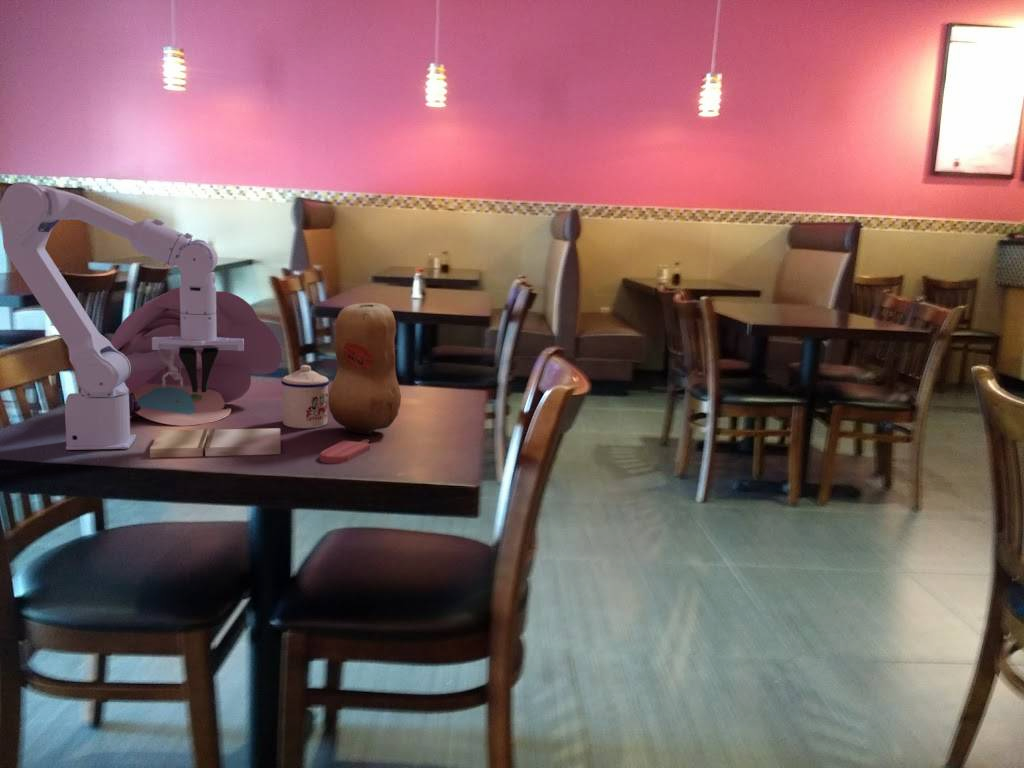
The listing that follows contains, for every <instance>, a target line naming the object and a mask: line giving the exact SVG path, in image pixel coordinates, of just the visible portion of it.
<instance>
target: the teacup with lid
mask: <svg viewBox="0 0 1024 768" xmlns="http://www.w3.org/2000/svg"><path fill="white" fill-rule="evenodd" d="M299 368H300V369H299V370H296V371H294V372H292V373H291V374H289V375H285V376H284V377H282V378H281V385H282V424H283V425H284V426H286V427H289V428H294V429H316V428H320V427H324V426H326V425H327V423H328V410H329V384H330V381H329V378H328V377H327V376H324V375H321V374H319V373H318V372H316V371H314V370H312V367H311V366H310V365H309V364H308V365H307V364H304V365H301V366H299Z"/></svg>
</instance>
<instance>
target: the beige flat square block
mask: <svg viewBox="0 0 1024 768" xmlns="http://www.w3.org/2000/svg"><path fill="white" fill-rule="evenodd" d="M281 452H282V451H281V428H280V427H279V428H277V427H275V428H234V429H233V428H231V429H230V428H229V429H228V428H227V429H221V428H220V429H215V428H211V429H210V431H209V437H208V440H207V443H206V446H205V451H204V454H205V455H204V457H223V456H224V457H227V456H233V457H234V456H265V455H267V456H268V455H281Z"/></svg>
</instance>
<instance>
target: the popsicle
mask: <svg viewBox="0 0 1024 768" xmlns="http://www.w3.org/2000/svg"><path fill="white" fill-rule="evenodd" d="M369 442H370V440H369V439H367V438H366V439H362V440H361V441H355V440H354V441H351V440H346V439H343V440H342V441H339V442H337V443H336V444H333V445H331V446H330V447H327V448H326V449H324V450H322V451H321V452H320V453H319V461H320V460H321V463H326V464H343V463H346V462H349V461H351V460H354V459H355V458H357V457H359V456H361V455H363V454H364V453H367V452H368V451H370V450H371V444H370V443H369Z"/></svg>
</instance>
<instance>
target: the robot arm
mask: <svg viewBox="0 0 1024 768" xmlns="http://www.w3.org/2000/svg"><path fill="white" fill-rule="evenodd" d="M0 216H1V222H2V223H1V224H2V225H1V226H2V244H3V245H2V246H3V250H4V252H5V254H6V255H7V257H8V259H9V260H10V262H11V263H12V264H13V266H14V267H15V269H16V271H18V273H19V275H20V276H21V278H22V279H23V281H24V282H25V284H26V285H27V287H28V289H29V291H30V292H31V293H32V294H33V296H34V297H35V299H36V301H37V302H38V304H39V305H40V306H41V308H42V310H43V311H44V312H45V315H46V316H47V318H49V320H50V322H51V323H52V324H53V326H54V328H55V330H56V331H57V332H58V334H59V335H60V337H61V339H62V340H63V341H64V343H65V344H66V346H67V349H68V357H69V358H68V360H69V362H70V363H71V365H72V367H73V369H74V372H75V381H76V383H77V385H78V387H79V388H80V392H77V393H76V392H75V393H73V392H72V393H69V394H67V396H66V398H65V405H64V407H65V408H64V417H65V418H64V420H65V422H64V423H65V439H66V442H65V443H66V446H65V450H68V451H72V450H73V451H75V450H77V451H82V450H84V451H85V450H117V449H119V450H123V449H124V450H125V449H126V450H127V449H129V448H130V447H131V446H132V444H133V442H134V441H135V440H136V438H137V434H135V433H134V434H131V420H130V419H131V418H130V413H129V389H128V388H127V386H126V385H125V382H124V381H126V380H127V378H128V377H129V375H130V372H131V365H130V362H129V360H128V358H127V357H126V356H125V355H124V354H122V353H121V352H119V351H117V350H116V349H115V348H114V347H113V346H112V344H111V340H109V339H108V338H106V337H105V336H104V335H102V334H101V333H100V332H99V331H98V329H97V327H96V325H95V324H94V323H93V321H92V319H91V318H90V316H89V315H88V313H87V312H86V310H85V309H84V307H83V306H82V304H81V302H80V301H79V299H78V298H77V296H76V295H75V293H74V292H73V290H72V288H71V287H70V286H69V284H68V282H67V281H66V279H65V278H64V276H63V274H62V273H61V271H60V270H59V268H58V267H57V265H56V264H55V262H54V261H53V259H52V258H51V256H50V255H49V253H48V251H47V250H46V246H47V242H48V240H49V238H50V235H51V232H52V230H53V229H54V228H55V227H56V226H57V225H58V224H59V223H60V221H63V220H64V221H65V220H67V221H71V220H72V221H73V220H75V221H76V220H78V221H81V222H83V223H86V224H88V225H91V226H94V227H97V228H99V229H101V230H104V231H106V232H109V233H112V234H114V235H116V236H118V237H122V238H125V239H127V240H128V241H129V243H130V245H131V246H132V249H133V250H134V251H135V252H137V253H139V254H142V255H144V256H146V257H149V258H151V259H154V260H157V261H158V262H161V263H163V264H164V265H168V266H170V267H174V266H176V267H177V269H178V270H179V274H180V275H179V276H180V278H179V279H180V285H179V287H180V327H181V337H153V338H152V350H159V349H179V357H180V359H181V361H182V362H183V364H184V366H185V368H186V371H187V373H188V376H189V378H190V382H191V386H192V392H197V391H198V380H197V350H203V351H202V353H201V359H202V385H201V390H202V392H206V391H207V383H208V378H209V375H210V371H211V368H212V366H213V363H214V361H215V358H216V356H217V354H218V352H219V351H218V350H237V351H244V339H240V338H222V337H217V329H216V291H217V286H216V274H215V271H214V270H215V269H216V267H217V264H218V254H217V251H216V250H215V248H214V247H213V246H212V245H210V244H209V243H207V242H206V241H205V240H203V239H196V240H193V237H194V236H193V234H191V233H189V232H186V233H185V234H184V233H182V232H180V231H177V230H175V229H173V228H171V227H168V226H166V225H165V221H164V220H161V219H159V218H154V219H153V220H152V219H150V218H145V219H143V220H140V221H139V220H138V221H135V220H132V219H131V218H128V217H127V216H124V215H123V214H120V213H118V212H116V211H113V210H112V209H110V208H107V207H105V206H104V205H101V204H99V203H97V202H95V201H93V200H90V199H88V198H86V197H84V196H83V195H82V196H81V195H79V194H75V193H73V192H70V191H65V190H63V189H62V190H61V189H57V188H55V187H54V186H51V185H47V184H35V183H32V182H28V181H22V182H21V181H20V182H18V181H17V182H15V183H13V184H11V185H10V186H8V188H6V190H5V191H4V193H3V195H2V198H1V200H0ZM187 345H191V346H187ZM208 345H210V346H212V347H206V346H208Z"/></svg>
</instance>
